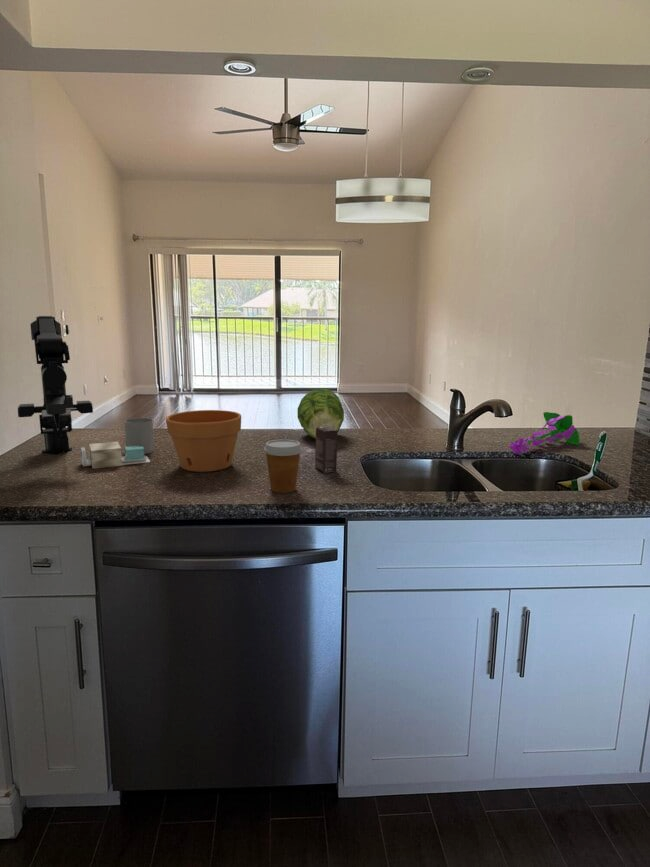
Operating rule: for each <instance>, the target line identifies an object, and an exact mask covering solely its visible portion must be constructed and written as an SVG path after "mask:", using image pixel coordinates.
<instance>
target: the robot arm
mask: <svg viewBox="0 0 650 867" xmlns="http://www.w3.org/2000/svg"><path fill="white" fill-rule="evenodd" d="M35 318H36V319H35V320H34V321H31V323H30V325H29V326H30V337H31V341H33V342H34V351H35V358H36V359H35V361H36V365H41V367H40V373H41V383H42V384H41V385H42V394H43V405H36V406H35V403H22V404H21V403H20V404H18V406H17V415H18V418H32V417H33V416H34V414H38V415H39V416H38V418H39V428H40V435H43V436H44V438H43V439H44V447H45V449H42V450H41V452H42V453H47V454H61V453H64V452H68V451H72V450H73V448H72V447H70V444H69V436H68V433H70V432H72V431H73V422H72V421H73V419H72V414H71V413H72V412H79V413H80V414H93V413H94V408H93V407H94V406H93V403H92V401H90V400H77V401H76V404H75V403H74V399H73V398H74V397H73V394H67V391H66V389H67V388H66V383H67V378H68V376H67V373H66V371H65V368H64V366H63V364H69V361H70V360H71V359H70V358H71V357H70V350H69V345H68V344H67V342H66V341H63V339H64V338H63V336H62V335H63V334H62V326H61V323H60V322H59V321H57V320H56V318H55V316H52V315H47V316H46V315H39V316H36V317H35Z"/></svg>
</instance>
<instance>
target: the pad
mask: <svg viewBox="0 0 650 867" xmlns="http://www.w3.org/2000/svg"><path fill="white" fill-rule="evenodd" d="M145 457H146V460H143V461H133V462H123V463H122V466H125V465H134V464H144V463H147V464H148V463H151V460H150V459H149V457H148V456H147V455H145Z"/></svg>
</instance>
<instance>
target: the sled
mask: <svg viewBox="0 0 650 867" xmlns="http://www.w3.org/2000/svg"><path fill="white" fill-rule="evenodd" d="M123 448H124V456H123V455H122V463H123V462H133V461H143V460H146V457H145V456H146V454H144V448H143V446H142V445H138V446H126V445H125V446H124V447H123ZM80 453H81V464H82V467H90V466H91V467H92V459H90V458H89V459H87V451H86V448H85V447H80Z"/></svg>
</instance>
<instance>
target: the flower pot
mask: <svg viewBox="0 0 650 867" xmlns="http://www.w3.org/2000/svg"><path fill="white" fill-rule="evenodd" d="M165 421H166V422H165V423H166V427H167V428H166V429H167V433H168V434H169V435H170V437H171V439H172V442H173V446H174V449H175V453H176V455H177V458H178V461H179V464H180V467H181V468H182V469H183V470H185V471H190V472H200V473H201V472H202V473H206V472H215V471H220V470H224V469H227V468H229V467H230V466H232V463H233V458H234V453H235V450H236V448H235V447H236V443H237V439H238V433H240V431H241V430H242V414H241V413H239V412H237V411H232V410H231V411H230V410H222V409H220V410H219V409H202V410H200V409H199V410H189V411H181V412H177V413H173V414H169V415H167V416H166V418H165Z"/></svg>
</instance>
